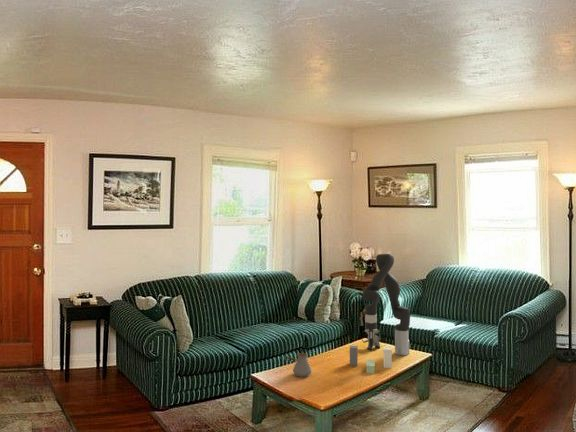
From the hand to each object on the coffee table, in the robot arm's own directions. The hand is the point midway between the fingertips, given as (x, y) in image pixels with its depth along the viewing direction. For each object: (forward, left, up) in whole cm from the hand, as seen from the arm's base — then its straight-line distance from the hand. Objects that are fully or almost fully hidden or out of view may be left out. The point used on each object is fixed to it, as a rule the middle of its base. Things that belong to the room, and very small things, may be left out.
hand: (371, 347), depth 327 cm
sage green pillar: (-1, -1, -11) cm, 11 cm away
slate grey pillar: (+7, -10, -13) cm, 18 cm away
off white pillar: (-11, +3, -13) cm, 18 cm away
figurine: (-26, -33, -14) cm, 45 cm away
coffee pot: (+51, -7, -14) cm, 53 cm away
